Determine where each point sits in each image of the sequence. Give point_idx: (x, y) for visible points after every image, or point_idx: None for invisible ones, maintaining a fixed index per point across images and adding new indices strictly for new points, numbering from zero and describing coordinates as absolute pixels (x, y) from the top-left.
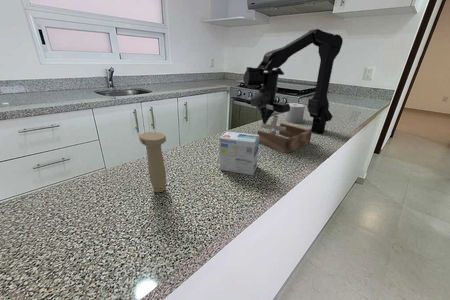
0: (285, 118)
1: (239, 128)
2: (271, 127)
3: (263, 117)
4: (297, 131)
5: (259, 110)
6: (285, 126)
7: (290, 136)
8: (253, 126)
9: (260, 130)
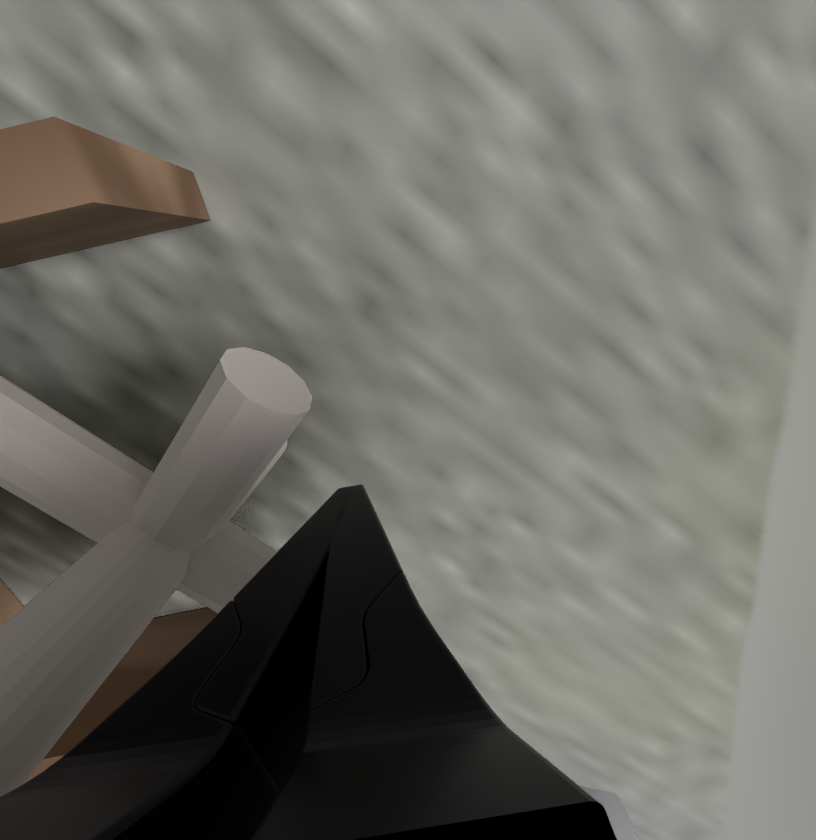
0: (611, 814)
1: (786, 314)
2: (136, 497)
3: (325, 570)
4: (88, 708)
5: (511, 740)
6: None
7: (203, 618)
8: (698, 508)
9: (60, 202)
